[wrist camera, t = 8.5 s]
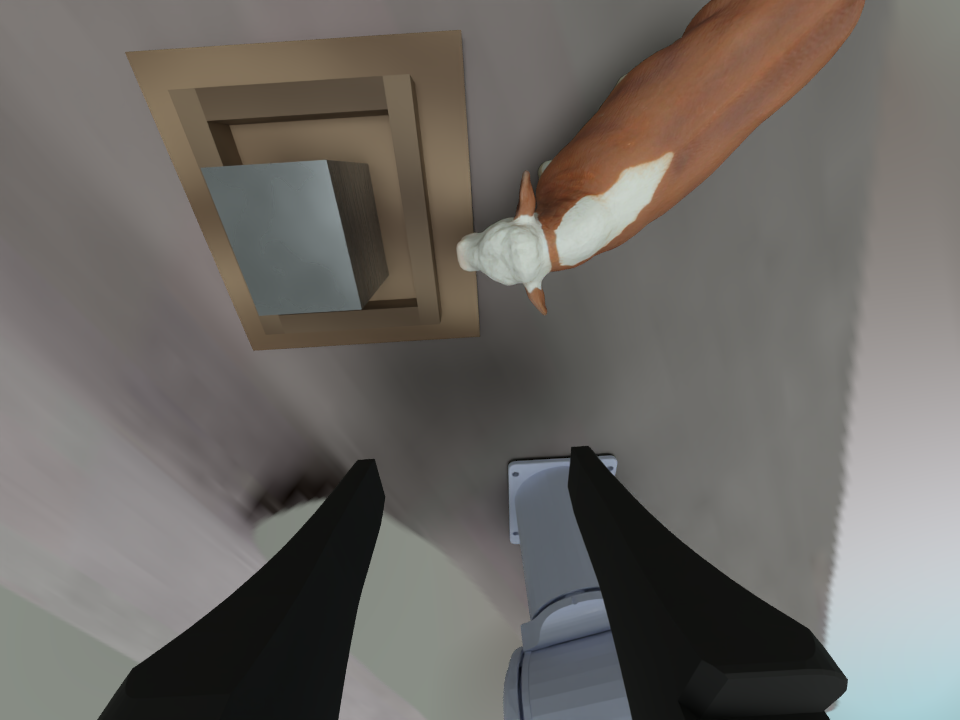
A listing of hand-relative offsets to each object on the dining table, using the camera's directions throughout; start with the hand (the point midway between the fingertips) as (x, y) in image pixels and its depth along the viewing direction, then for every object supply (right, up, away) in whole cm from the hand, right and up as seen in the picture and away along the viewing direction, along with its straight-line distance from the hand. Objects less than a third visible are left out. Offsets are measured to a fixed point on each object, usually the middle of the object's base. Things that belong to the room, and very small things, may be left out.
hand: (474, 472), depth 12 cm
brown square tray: (-7, +11, +4) cm, 14 cm away
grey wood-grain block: (-7, +11, +4) cm, 13 cm away
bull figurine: (+5, +14, +4) cm, 15 cm away
